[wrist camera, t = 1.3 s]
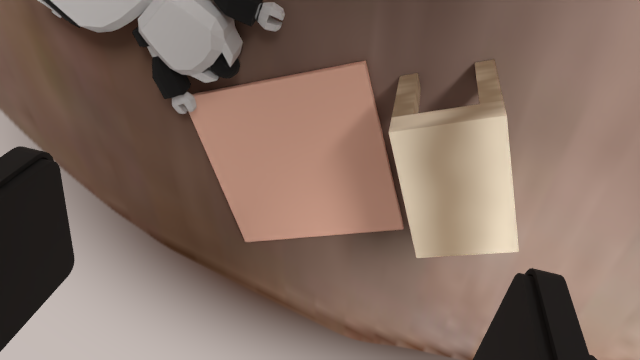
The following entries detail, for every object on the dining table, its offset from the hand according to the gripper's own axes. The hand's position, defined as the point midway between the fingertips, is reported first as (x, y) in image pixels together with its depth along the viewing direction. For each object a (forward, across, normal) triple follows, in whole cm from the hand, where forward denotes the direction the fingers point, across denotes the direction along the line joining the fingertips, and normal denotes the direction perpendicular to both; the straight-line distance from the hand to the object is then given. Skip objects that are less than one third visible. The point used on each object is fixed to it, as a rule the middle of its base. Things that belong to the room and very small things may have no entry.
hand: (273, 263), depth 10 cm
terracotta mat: (+25, +4, +13) cm, 29 cm away
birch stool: (+25, -7, +8) cm, 27 cm away
